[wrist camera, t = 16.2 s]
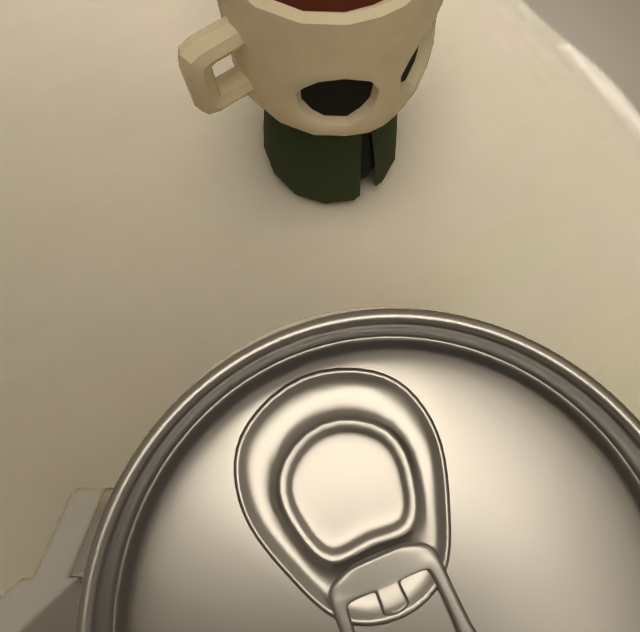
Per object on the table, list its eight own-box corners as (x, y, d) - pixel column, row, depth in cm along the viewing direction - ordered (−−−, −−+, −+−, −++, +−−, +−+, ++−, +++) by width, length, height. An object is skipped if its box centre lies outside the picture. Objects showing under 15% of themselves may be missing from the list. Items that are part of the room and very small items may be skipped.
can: (414, 356, 18) (564, 165, 6) (515, 574, 16) (970, 887, 5) (209, 443, 17) (-63, 421, 6) (293, 674, 16) (168, 1294, 4)
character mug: (275, 266, 28) (227, 111, 15) (197, 149, 29) (93, -81, 17) (465, 145, 29) (568, -92, 16) (381, 38, 30) (415, -257, 18)
